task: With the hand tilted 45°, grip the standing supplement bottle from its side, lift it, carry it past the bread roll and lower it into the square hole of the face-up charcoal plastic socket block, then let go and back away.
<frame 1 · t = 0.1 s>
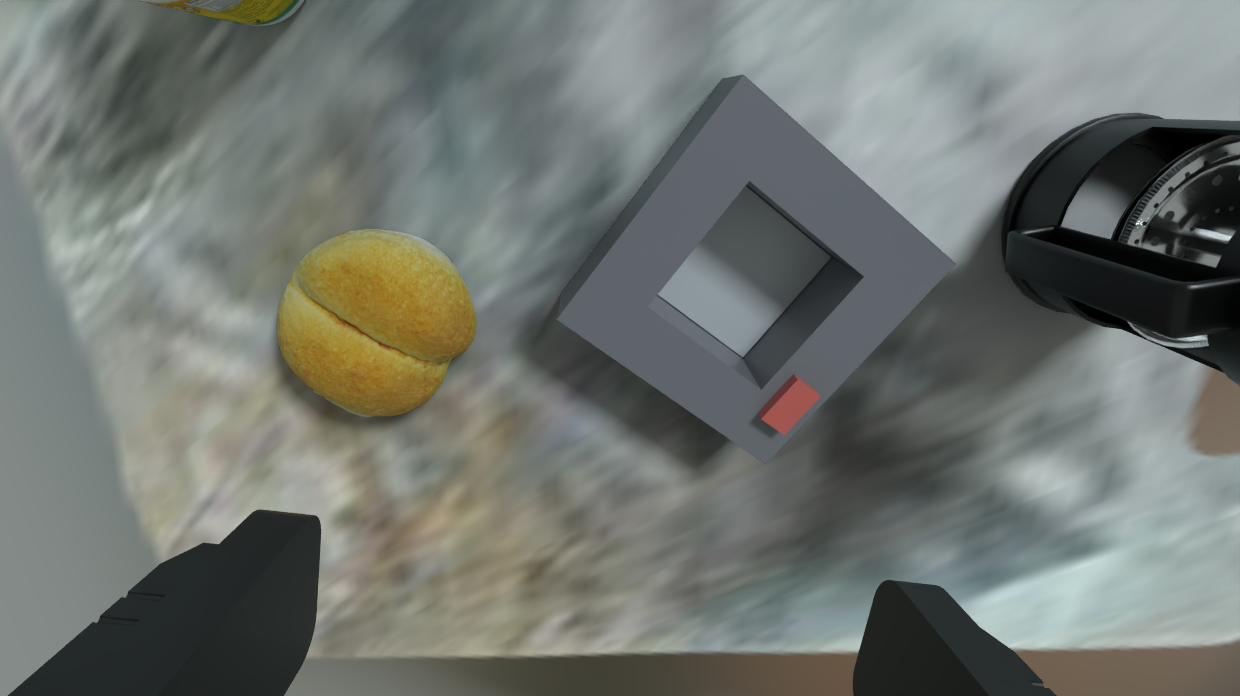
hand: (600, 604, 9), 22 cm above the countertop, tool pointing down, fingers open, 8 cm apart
socket block: (735, 268, 30), on the countertop
bread roll: (387, 316, 31), on the countertop
french press: (1085, 218, 30), on the countertop
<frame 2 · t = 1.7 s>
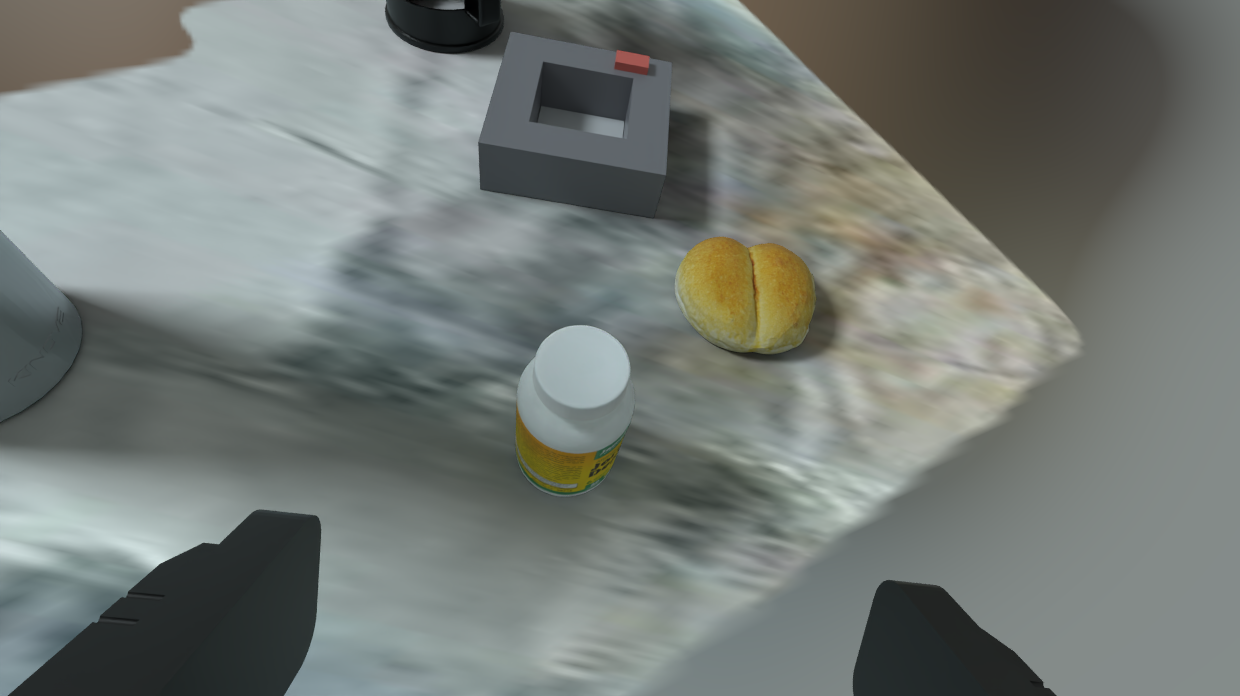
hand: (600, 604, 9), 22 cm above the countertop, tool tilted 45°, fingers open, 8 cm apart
socket block: (577, 144, 47), on the countertop
supplement bottle: (564, 452, 34), on the countertop
bread roll: (740, 305, 42), on the countertop
french press: (449, 23, 52), on the countertop
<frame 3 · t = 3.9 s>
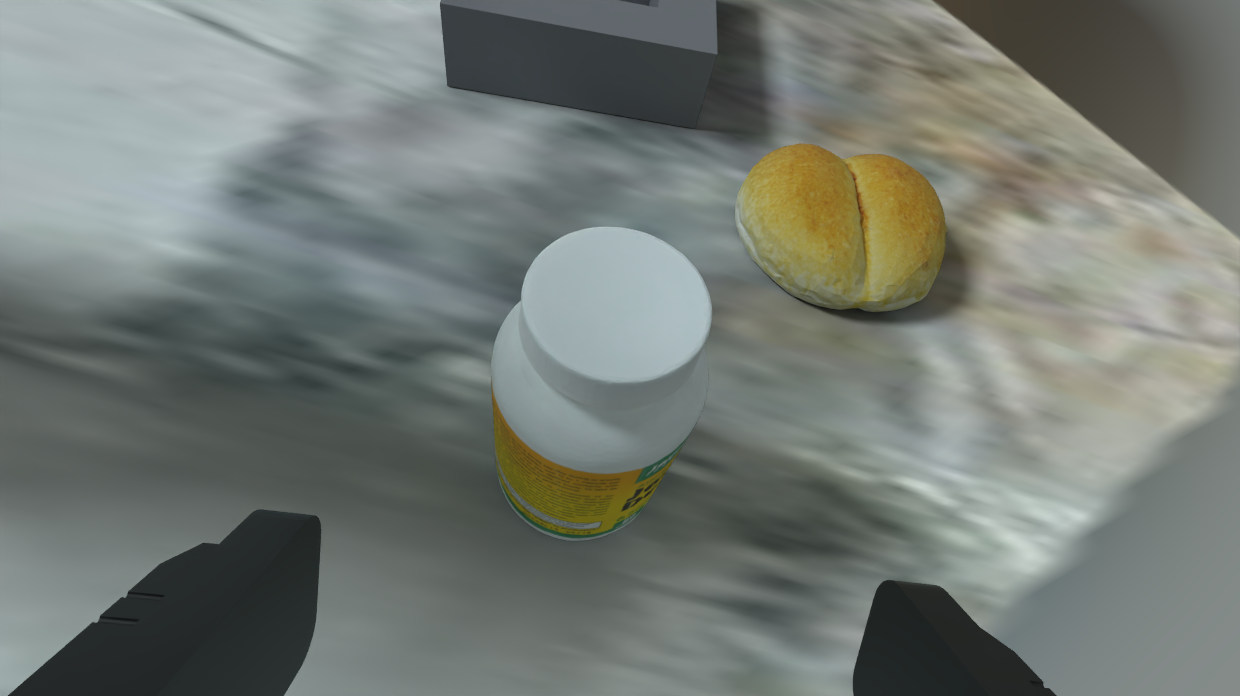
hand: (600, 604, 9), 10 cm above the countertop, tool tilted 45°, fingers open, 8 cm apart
socket block: (585, 35, 34), on the countertop
supplement bottle: (575, 466, 21), on the countertop
bread roll: (827, 246, 29), on the countertop
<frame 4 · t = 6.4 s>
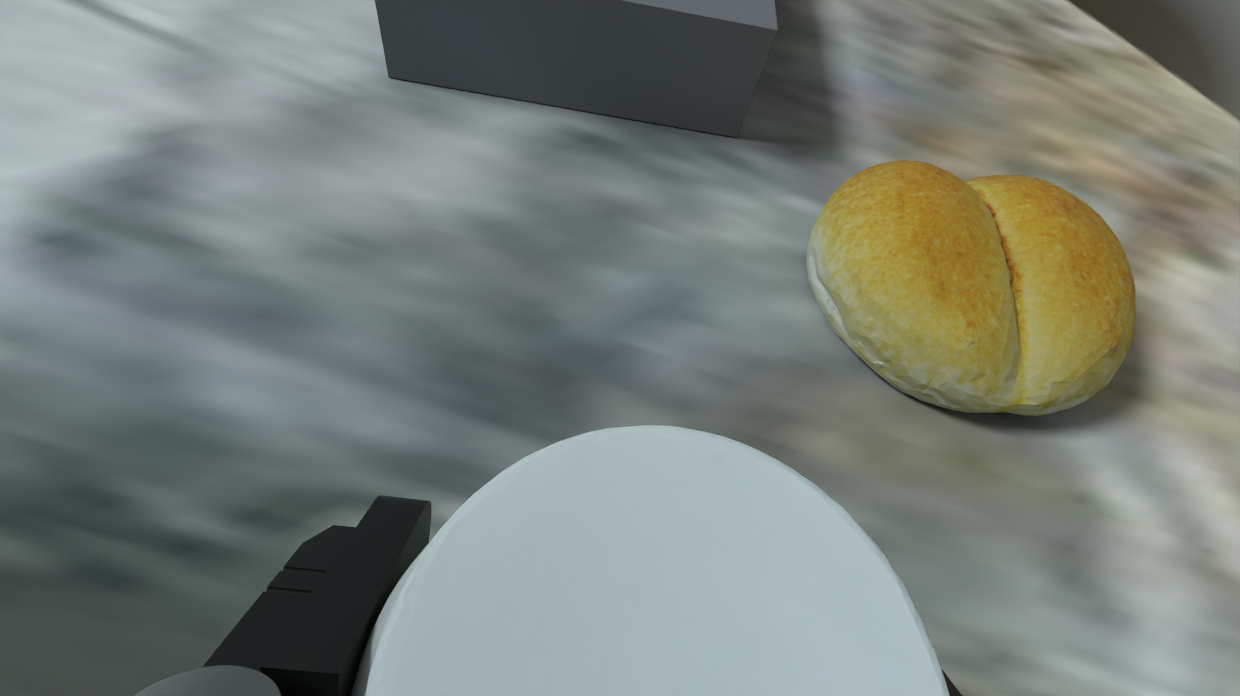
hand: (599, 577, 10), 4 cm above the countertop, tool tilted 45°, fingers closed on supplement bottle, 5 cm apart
socket block: (584, 10, 25), on the countertop
bread roll: (937, 307, 20), on the countertop
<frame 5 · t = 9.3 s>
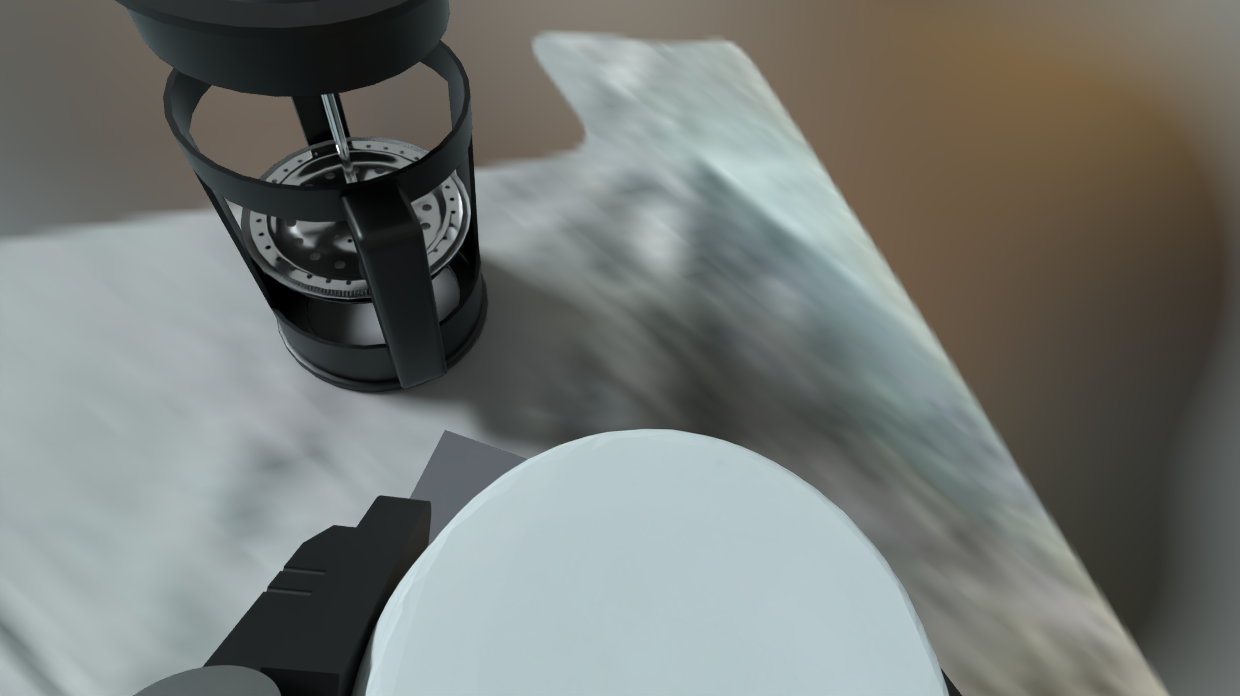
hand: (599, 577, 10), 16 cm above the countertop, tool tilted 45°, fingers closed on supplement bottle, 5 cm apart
socket block: (535, 671, 23), on the countertop
french press: (391, 315, 30), on the countertop
when the fingers open (6 cm above the countertop, at t = 12.4 s): supplement bottle drops 1 cm, resting on socket block.
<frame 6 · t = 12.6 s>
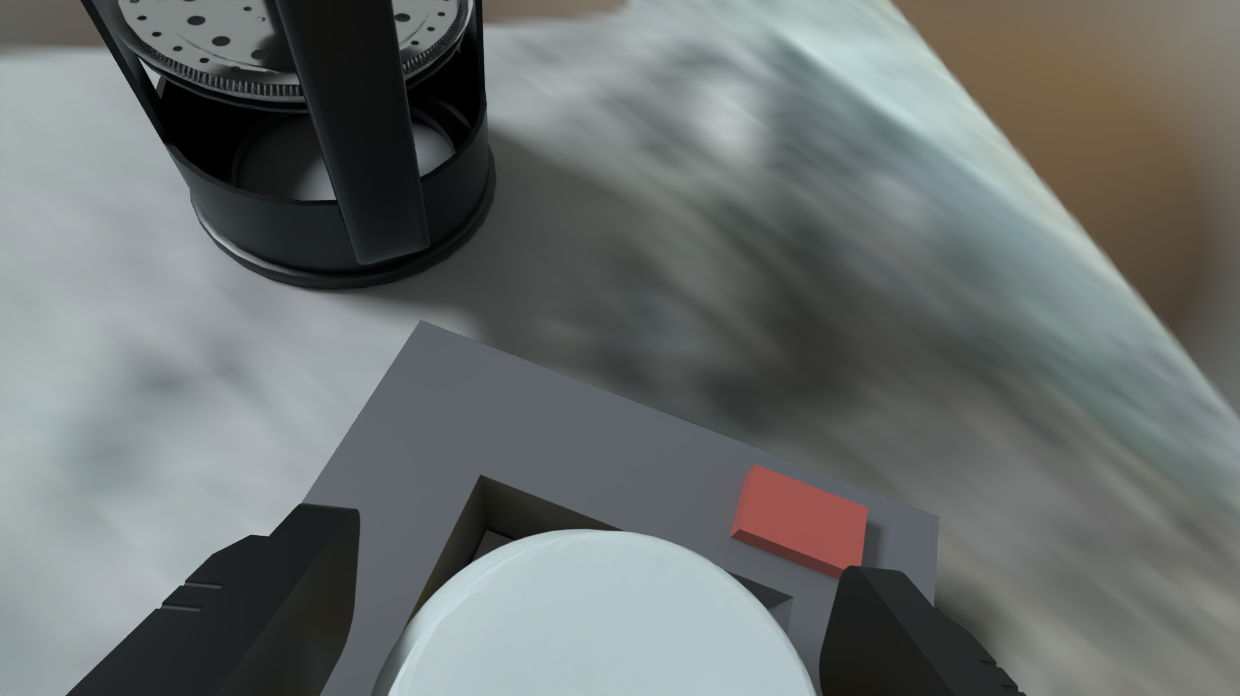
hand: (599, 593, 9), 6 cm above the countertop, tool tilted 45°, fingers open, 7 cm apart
french press: (358, 192, 21), on the countertop
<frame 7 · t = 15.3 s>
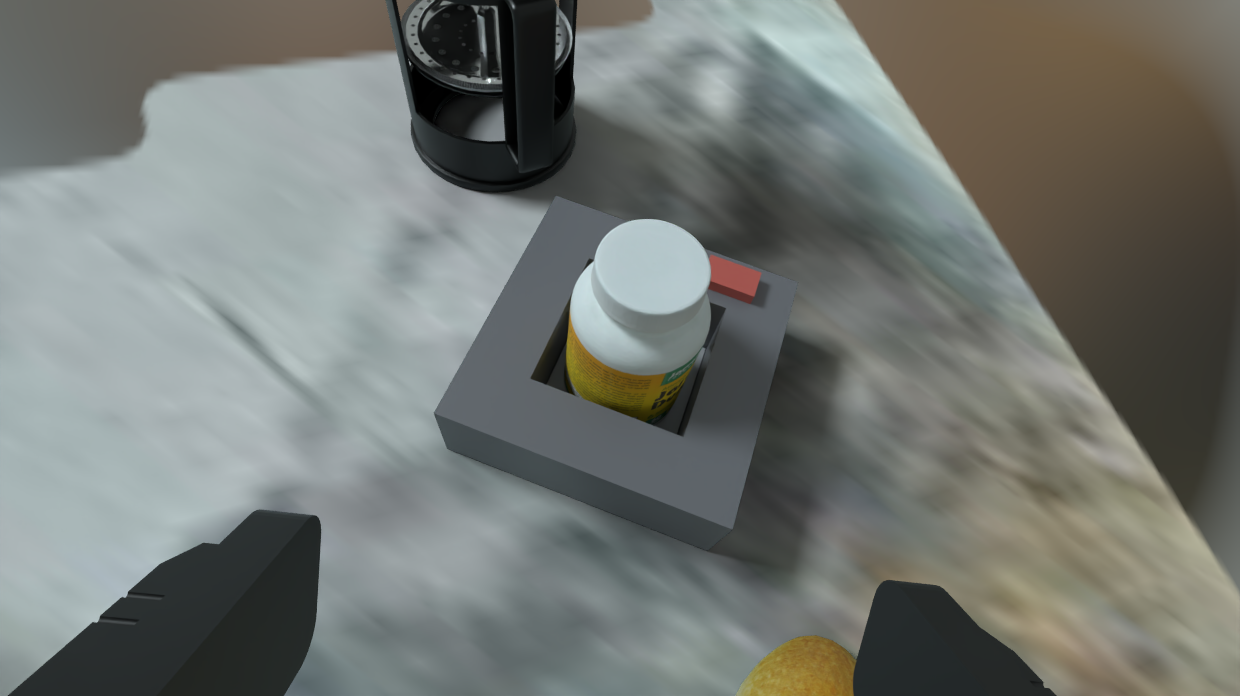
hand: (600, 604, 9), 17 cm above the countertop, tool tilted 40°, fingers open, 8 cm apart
socket block: (622, 382, 30), on the countertop
supplement bottle: (619, 386, 30), resting on socket block
french press: (498, 140, 37), on the countertop
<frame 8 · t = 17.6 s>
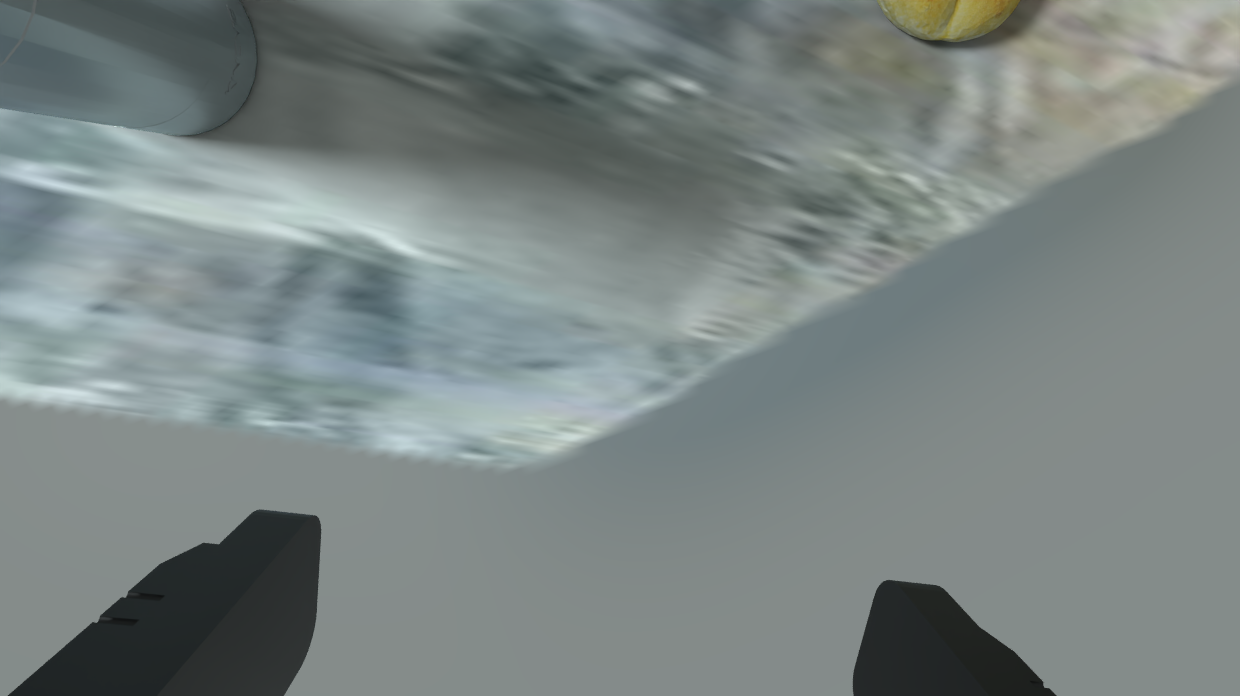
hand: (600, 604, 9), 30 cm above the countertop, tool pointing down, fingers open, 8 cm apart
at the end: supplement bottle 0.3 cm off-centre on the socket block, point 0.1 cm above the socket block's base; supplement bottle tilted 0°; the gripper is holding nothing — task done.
